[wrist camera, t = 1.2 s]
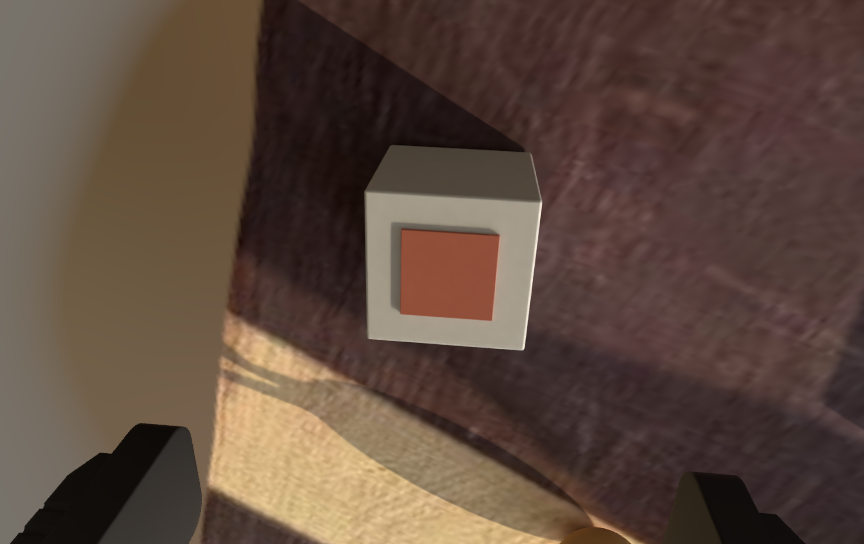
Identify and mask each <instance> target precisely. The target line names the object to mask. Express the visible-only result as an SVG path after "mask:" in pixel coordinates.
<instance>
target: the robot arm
mask: <svg viewBox="0 0 864 544" xmlns="http://www.w3.org/2000/svg"><path fill="white" fill-rule="evenodd" d="M201 506H202V494H201V487H200V482H199V477H198V472H197V466H196V461H195V455H194V450H193V444H192V438H191V434H190V432H189V430H188V429H187V428H186V427H180V426H169V425H157V424H145V423H144V424H143V423H140V424H137V425H135V426H134V427H133V428H132V429H131V430H130V431H129V432H128V434H127V435H126V436H125V437H124V439H123V440H122V441H121V443H120V444H119V445H118V446H117V448H116V449H115V450H114V451H113V453H112V454H109V453H99V454H98V455H96V456H95V457H93V458H92V459H90V460H89V461H87V462H86V463H85V464H83V465H82V466H80V467H79V468H77V469H76V470H75V471H73V472H72V473H70V474H69V475H68V476H67V477H66V478H65V479H64V480H63V482H62V483H61V484H60V485H59V486H58V487H57V489H56V490H55V491H54V492H53V493H52V495H51V496H50V497H49V498H48V499H47V501H46V502H45V503H44V508H43V509H39V510H38V511H37V512H36V514H35V515H34V516H33V517H32V518H31V519H30V521H29V522H28V523H27V524H26V525H25V529H24V531H23V533H19V534H18V535H17V536H16V537H15V538H14V540H13V541H12V542H11V543H10V544H189V542H190V540H191V538H192V536H193V534H194V532H195V529H196V527H197V524H198V521H199V517H200V512H201ZM663 544H805V543H804V542H803V541H802V540H801V539H800V538H799V537H798V536H797V535H796V534H795V533H794V532H793V531H792V530H791V529H790V528H789V527H788V526H787V525H786V524H785V523H784V522H783V521H782V520H781V519H780V518H779V517H778V516H777V515H776V514H765V513H759V512H758V510H757V508H756V506H755V504H754V502H753V500H752V498H751V496H750V494H749V492H748V490H747V488H746V486H745V484H744V483H743V481H742V480H741V479H740V478H739V477H738V476H735V475H724V474H713V473H701V472H689V471H688V472H685V473H684V474H683V475H682V477H681V480H680V483H679V487H678V490H677V494H676V497H675V501H674V504H673V508H672V511H671V514H670V518H669V521H668V525H667V528H666V532H665V535H664V540H663Z"/></svg>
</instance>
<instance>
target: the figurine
mask: <svg viewBox="0 0 864 544" xmlns="http://www.w3.org/2000/svg"><path fill="white" fill-rule="evenodd" d="M560 544H631V543H630V542H629V541H627V540H626V539H625V538H624V537H622V536H621V535H619V534H617V533H615V532H613V531H611V530H608V529H604V528H599V527H588V528H583V529H579V530H577V531H575V532H573V533H571V534H569V535H568V536H567V537H566V538H564V539H563V540H562V541H561V543H560Z"/></svg>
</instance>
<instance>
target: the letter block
mask: <svg viewBox="0 0 864 544" xmlns="http://www.w3.org/2000/svg"><path fill="white" fill-rule="evenodd" d="M364 199H365V255H366V310H367V337H368V338H369V339H379V340H392V341H405V342H418V343H432V344H445V345H458V346H471V347H485V348H498V349H511V350H523V349H524V347H525V339H526V331H527V322H528V314H529V306H530V298H531V289H532V281H533V273H534V265H535V256H536V248H537V240H538V232H539V224H540V215H541V207H542V200H541V196H540V191H539V187H538V182H537V178H536V173H535V169H534V164H533V160H532V155H531V153H528V152H510V151H492V150H474V149H456V148H438V147H420V146H402V145H390V147H389V149H388V150H387V152H386V154H385V156H384V158H383V159H382V161H381V163H380V165H379V166H378V168H377V170H376V172H375V174H374V175H373V177H372V179H371V181H370V182H369V184H368V186H367V188H366V190H365V192H364Z"/></svg>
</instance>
